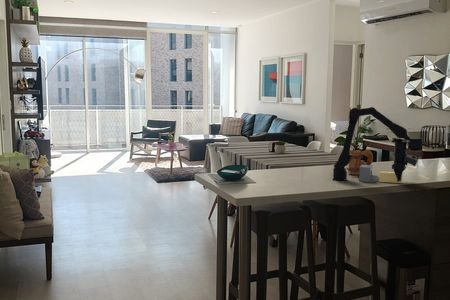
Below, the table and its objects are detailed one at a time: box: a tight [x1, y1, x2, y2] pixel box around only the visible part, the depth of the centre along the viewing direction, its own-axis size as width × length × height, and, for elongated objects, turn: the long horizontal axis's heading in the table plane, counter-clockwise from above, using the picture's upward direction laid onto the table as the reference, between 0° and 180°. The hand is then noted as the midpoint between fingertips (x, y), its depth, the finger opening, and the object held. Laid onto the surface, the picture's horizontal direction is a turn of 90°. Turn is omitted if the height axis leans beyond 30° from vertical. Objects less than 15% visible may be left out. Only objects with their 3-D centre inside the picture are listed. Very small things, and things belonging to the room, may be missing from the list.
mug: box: [346, 148, 374, 176], centre depth 257 cm, size 15×8×15 cm, turn 62°
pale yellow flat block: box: [379, 171, 403, 184], centre depth 234 cm, size 11×2×5 cm, turn 64°
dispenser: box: [358, 164, 379, 183], centre depth 239 cm, size 8×8×8 cm
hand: (399, 180), depth 232 cm, fingers closed on pale yellow flat block, 2 cm apart
